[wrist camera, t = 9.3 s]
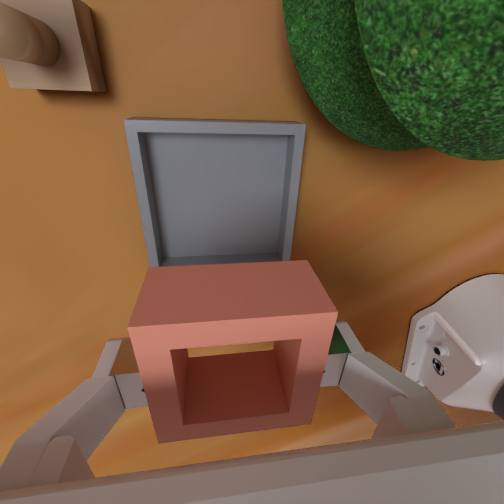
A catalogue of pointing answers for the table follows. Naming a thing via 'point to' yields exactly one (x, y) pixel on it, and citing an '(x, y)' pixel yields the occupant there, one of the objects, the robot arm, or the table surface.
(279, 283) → the ring
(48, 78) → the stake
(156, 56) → the table surface
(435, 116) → the decorative tree
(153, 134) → the tray
